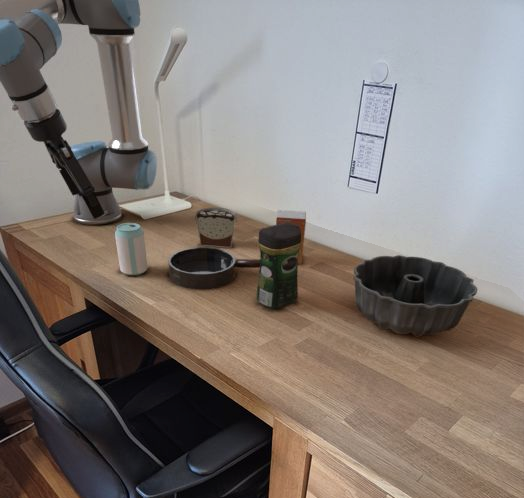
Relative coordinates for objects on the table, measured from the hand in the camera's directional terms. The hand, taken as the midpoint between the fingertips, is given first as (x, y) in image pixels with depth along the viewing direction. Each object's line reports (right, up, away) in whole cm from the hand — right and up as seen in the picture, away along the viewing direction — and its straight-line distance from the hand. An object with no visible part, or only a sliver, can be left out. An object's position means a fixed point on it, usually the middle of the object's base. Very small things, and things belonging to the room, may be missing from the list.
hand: (88, 203), depth 109 cm
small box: (+49, -9, +22) cm, 54 cm away
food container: (+28, -2, +30) cm, 41 cm away
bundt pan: (+75, -27, -3) cm, 79 cm away
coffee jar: (+45, -23, +1) cm, 51 cm away
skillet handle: (+41, -13, +12) cm, 44 cm away
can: (+8, -14, +12) cm, 20 cm away
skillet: (+26, -15, +12) cm, 32 cm away
